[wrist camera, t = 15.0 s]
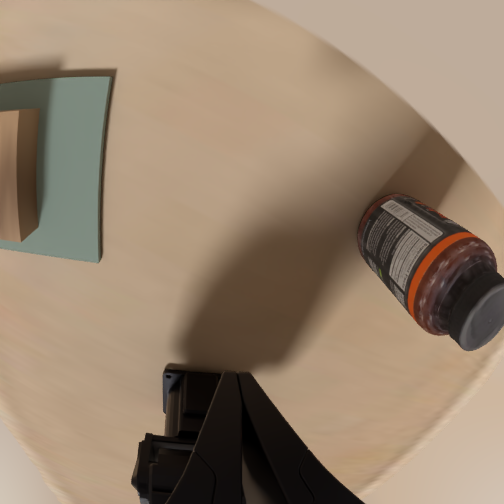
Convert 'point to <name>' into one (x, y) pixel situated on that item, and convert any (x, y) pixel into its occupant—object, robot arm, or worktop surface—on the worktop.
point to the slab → (18, 173)
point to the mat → (65, 163)
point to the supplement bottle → (434, 269)
